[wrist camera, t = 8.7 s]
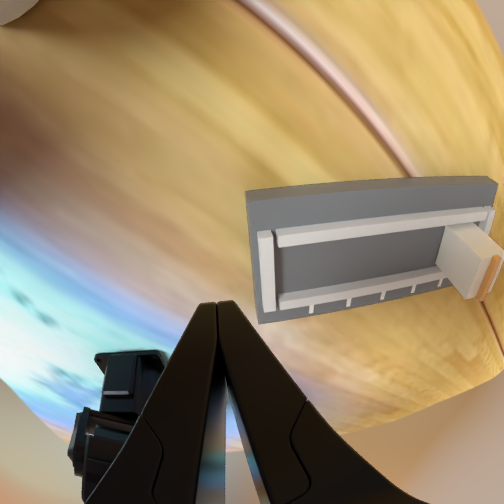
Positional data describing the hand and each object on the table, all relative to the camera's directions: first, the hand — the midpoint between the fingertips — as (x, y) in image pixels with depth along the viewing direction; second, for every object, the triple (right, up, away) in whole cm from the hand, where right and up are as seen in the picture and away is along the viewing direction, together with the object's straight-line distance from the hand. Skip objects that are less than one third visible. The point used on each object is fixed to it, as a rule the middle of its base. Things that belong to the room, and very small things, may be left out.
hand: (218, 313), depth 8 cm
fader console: (+11, +2, +15) cm, 18 cm away
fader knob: (+17, +2, +14) cm, 22 cm away
